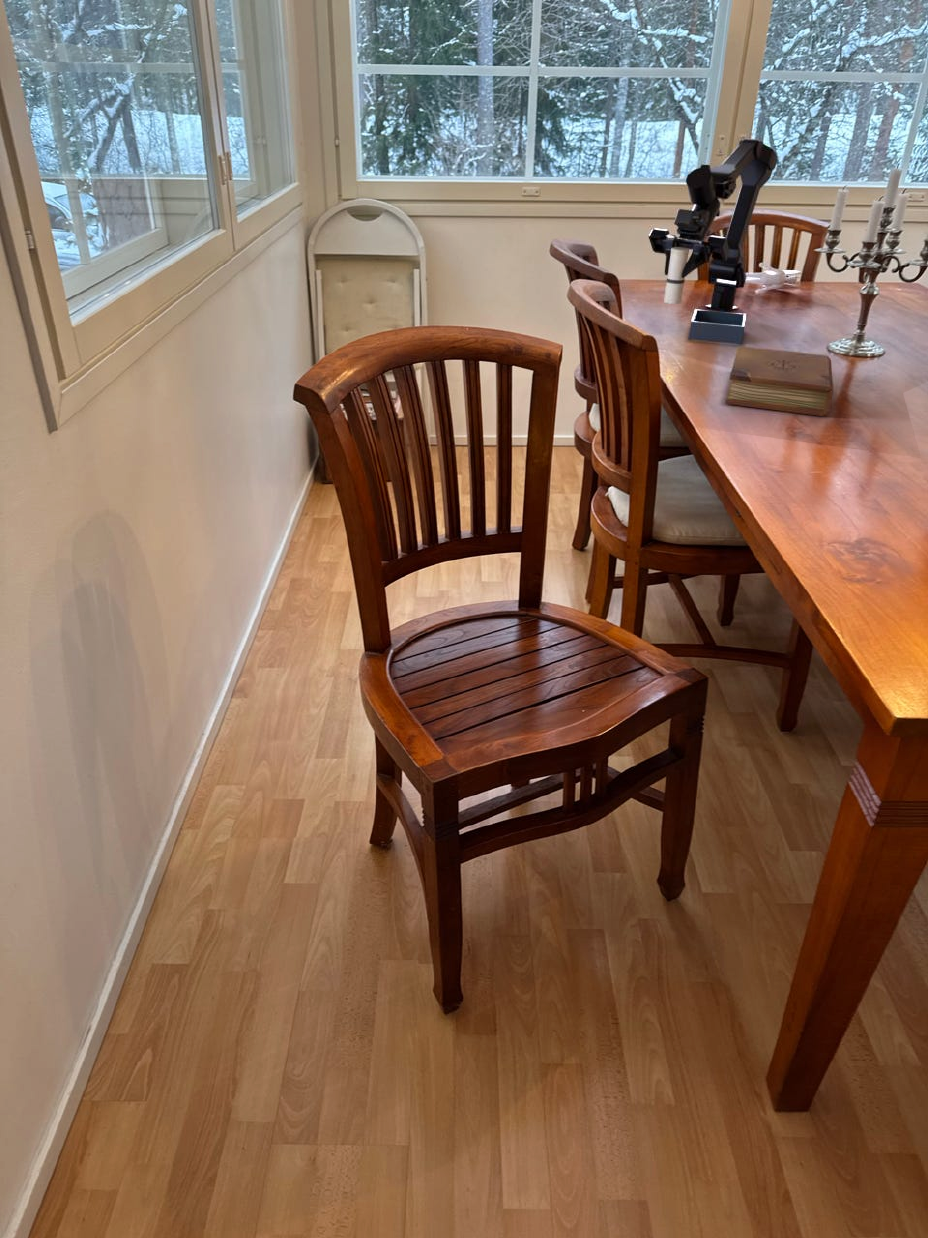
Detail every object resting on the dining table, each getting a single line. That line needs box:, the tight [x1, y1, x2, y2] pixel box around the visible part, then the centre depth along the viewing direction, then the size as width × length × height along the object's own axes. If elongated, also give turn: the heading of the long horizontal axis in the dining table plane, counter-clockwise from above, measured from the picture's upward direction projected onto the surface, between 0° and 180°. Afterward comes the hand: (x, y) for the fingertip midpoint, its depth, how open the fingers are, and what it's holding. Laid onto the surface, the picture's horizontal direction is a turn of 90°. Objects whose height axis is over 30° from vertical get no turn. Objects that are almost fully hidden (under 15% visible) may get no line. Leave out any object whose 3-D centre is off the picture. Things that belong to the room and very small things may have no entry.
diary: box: [724, 345, 834, 417], centre depth 174 cm, size 23×19×6 cm
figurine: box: [735, 262, 802, 295], centre depth 255 cm, size 9×12×20 cm
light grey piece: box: [663, 247, 690, 305], centre depth 206 cm, size 4×4×12 cm
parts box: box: [687, 308, 747, 345], centre depth 210 cm, size 13×12×5 cm
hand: (673, 275), depth 205 cm, fingers closed on light grey piece, 4 cm apart
